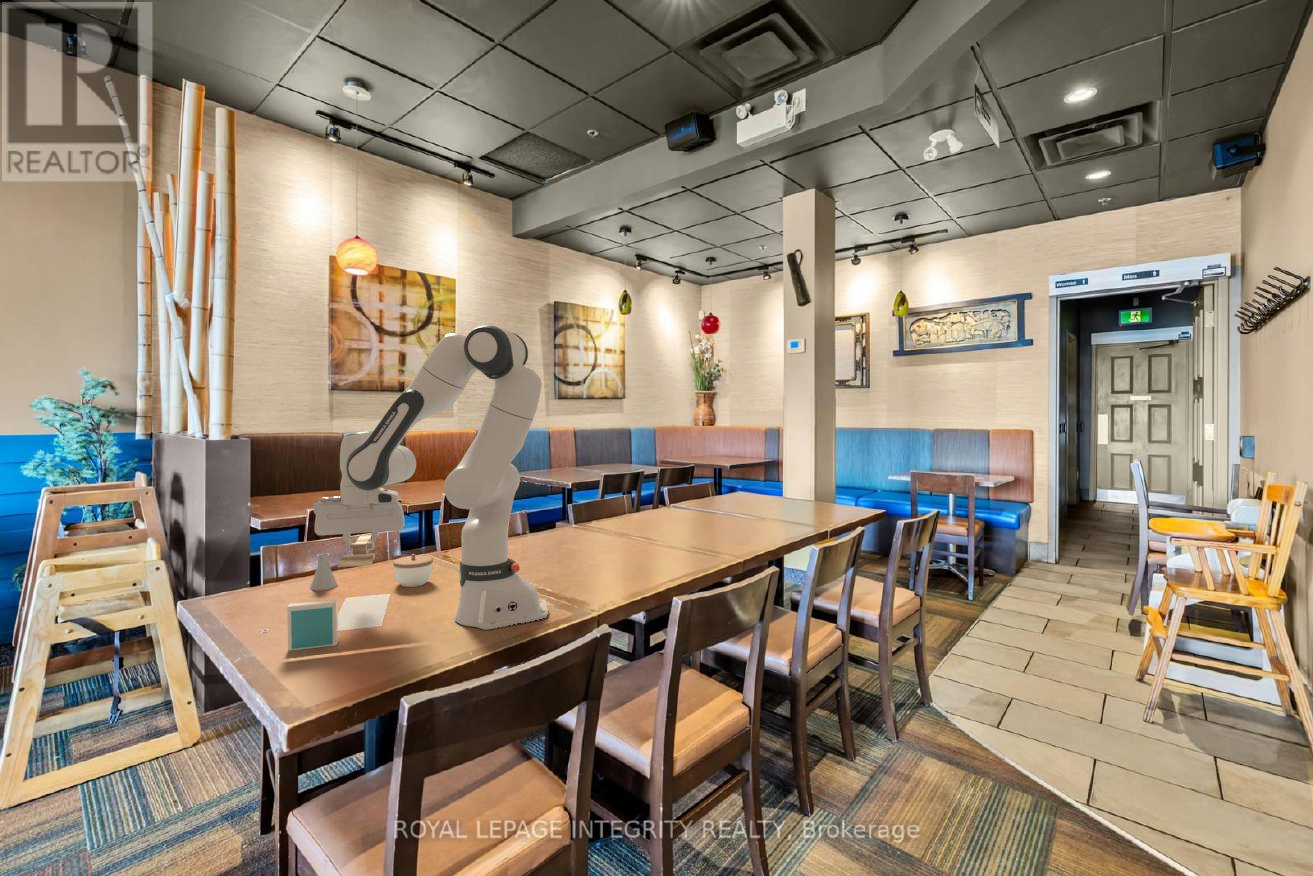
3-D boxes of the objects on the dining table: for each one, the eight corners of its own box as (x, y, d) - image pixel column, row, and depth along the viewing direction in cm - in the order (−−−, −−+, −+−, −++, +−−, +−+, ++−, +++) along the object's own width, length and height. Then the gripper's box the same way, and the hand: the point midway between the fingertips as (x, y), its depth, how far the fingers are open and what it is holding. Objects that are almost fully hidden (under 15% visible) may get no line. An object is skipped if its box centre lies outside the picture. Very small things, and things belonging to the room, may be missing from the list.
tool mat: (390, 595, 160) (390, 593, 160) (381, 628, 136) (381, 626, 136) (346, 599, 156) (346, 597, 156) (328, 634, 132) (328, 631, 132)
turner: (351, 546, 154) (351, 535, 154) (380, 544, 157) (380, 534, 157) (337, 567, 134) (337, 554, 133) (371, 564, 136) (371, 552, 136)
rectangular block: (338, 644, 126) (337, 599, 126) (336, 648, 124) (335, 602, 124) (290, 650, 123) (289, 603, 123) (288, 654, 121) (287, 607, 121)
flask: (343, 588, 167) (342, 553, 166) (317, 594, 161) (316, 559, 160) (329, 584, 171) (329, 550, 170) (304, 590, 165) (303, 555, 164)
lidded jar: (429, 578, 177) (429, 548, 176) (436, 587, 168) (436, 555, 167) (391, 583, 171) (390, 552, 171) (396, 593, 162) (396, 560, 162)
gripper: (310, 499, 139) (311, 556, 139) (403, 495, 146) (403, 549, 147) (316, 496, 145) (317, 550, 145) (404, 492, 152) (405, 544, 152)
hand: (361, 550), depth 146 cm, fingers closed on turner, 3 cm apart
